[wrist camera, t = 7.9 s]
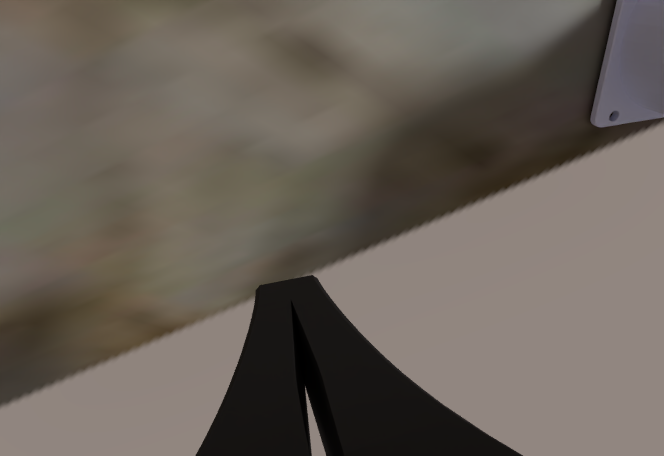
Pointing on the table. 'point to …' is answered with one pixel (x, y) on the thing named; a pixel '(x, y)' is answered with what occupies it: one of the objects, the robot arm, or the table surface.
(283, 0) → the table surface
